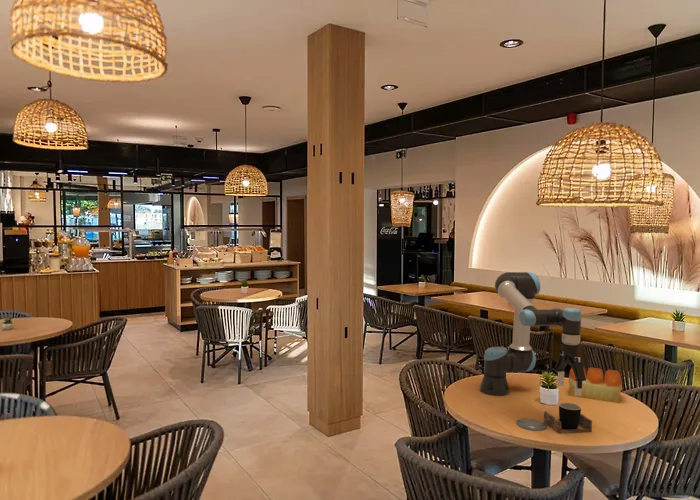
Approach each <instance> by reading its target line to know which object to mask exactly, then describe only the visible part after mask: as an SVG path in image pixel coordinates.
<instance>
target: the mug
mask: <svg viewBox="0 0 700 500" xmlns="http://www.w3.org/2000/svg"><path fill="white" fill-rule="evenodd" d="M580 414H582V407H581V406H580V405H579V404H576V403H572V402H561V403H559V405H558V419H560V421H561V429H562V430H570V429H579V426H580V425H579V421H580Z"/></svg>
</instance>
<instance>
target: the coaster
mask: <svg viewBox="0 0 700 500" xmlns="http://www.w3.org/2000/svg"><path fill="white" fill-rule="evenodd" d="M515 424H516V425H517V426H518V427H520V428H521V429H525V430H528V431H534V432H540V431H544V430H547V428H548V425H547V424H546V423H544V421H542V420H539V419H537V418H531V417H523V418H519V419H516V423H515Z"/></svg>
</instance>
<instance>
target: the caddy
mask: <svg viewBox="0 0 700 500" xmlns="http://www.w3.org/2000/svg"><path fill="white" fill-rule="evenodd" d="M543 422H544V423H546V425H547V427H550V428H551V429H552V430H554V431H555V432H556V433H558V434H576V433H591V432H593V431H592V430H593V420H592V419H590V418H589V417H587V416H586V415H584V414H582V413H581V414H580V421H579V426H580V427H582V428H577V429H570V430H564V429H562V427H561V421H560V419H559V418H556V417H555V416H554V415H552V414H551V413H549V412H548V411H543Z"/></svg>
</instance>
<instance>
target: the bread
mask: <svg viewBox="0 0 700 500" xmlns="http://www.w3.org/2000/svg"><path fill="white" fill-rule="evenodd" d="M583 369H584V373H585V378H586V381H582V393H581V395H580V396H575V380H576V377H575V374H574V372H573V369H572V367H571V368H570V370H569V374H568V383H569V387H568V396H569V397H574V398H582V399H589V400H595V401H603V402H608V403H614V404H621V395H622V394H621V391H622V390H623V388H622V385H623V381H622V376H621V372H619V371H618V370H616V369H608V370H606V371H605V372H604V370H603V369H601V367H600V368H598V367H593V366H592V367H589V368H587V370H586V368H585V367H584V366H583ZM578 378H579V377H578Z"/></svg>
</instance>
